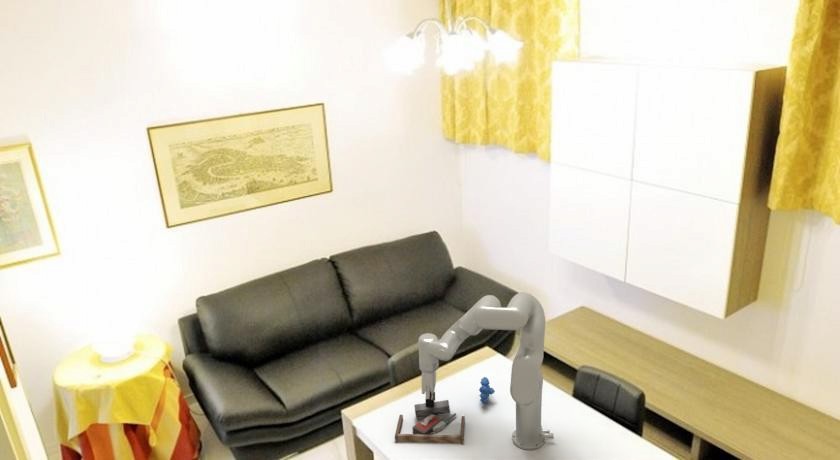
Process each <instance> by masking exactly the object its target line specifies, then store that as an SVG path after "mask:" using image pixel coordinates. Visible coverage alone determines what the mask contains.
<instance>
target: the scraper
mask: <svg viewBox="0 0 840 460" xmlns="http://www.w3.org/2000/svg"><path fill="white" fill-rule="evenodd" d="M430 392H431V391H430ZM430 396H431V394H430ZM433 398H434V396H433ZM414 412H415V413H414V414H415V418H416V419H419V418H422V419H423V418H425V417H426V416H427V415H429V414H433V415H436V416H442V415H449V414H451V408H450V402H449V399H446V400H445V399H444V400H440V401H434V407H433V408H428V407H426V402H424V403H418V404H414Z"/></svg>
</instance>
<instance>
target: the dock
mask: <svg viewBox="0 0 840 460" xmlns="http://www.w3.org/2000/svg"><path fill="white" fill-rule="evenodd" d="M403 422H404V415H403V414H399V417H398V421H397V425H396V428H395V429H396V430H395V433H394V442H395V443H411V444H412V443H415V444H447V445H450V444H451V445H453V444H454V445H464V442H465V441H464V438H465V427H466V418H465V415H461V421H460V430H459V435H456V434H453V435H452V434H430V435H426V434H413V433H401V432H402V429H403V428H402V427H403Z"/></svg>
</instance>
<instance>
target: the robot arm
mask: <svg viewBox="0 0 840 460" xmlns="http://www.w3.org/2000/svg"><path fill="white" fill-rule="evenodd" d="M482 330H493V331H496V330H497V331H498V330H500V331H517V330H520V338H519V346H518V348H517V351H516V353H515V356H514V359H513V361H512V364H511V373H510V383H509V384H510V387H509V388H510V389H509V393H510V396H511V398H512V399H513V401H514V402H515V430H514V431H513V432H512V434H511V441H512V443H513V444H514V445H515V446H516V447H518V448H520V449H523V450H527V451H533V450H538V449H540V448H542V447H543V446H544V445H545V443H546V439H552V440H553V439H554V437H555V436H554V435H555V434H554V432H553V433H552V432H551V430H550V429H543V426H542V406H543V405H542V403H543V402H542V399H543V397H542V396H543V384H544V377H543V373H542V371H541V368H542V364H543V360H544V348H545V340H546V339H545V338H546V337H545V335H546V314H545V311H544V308H543V306H542V304H541V302H540V301H539V300H538V299H537V297H536V296H534V295H532V294H530V293H528V292H525V291H524V292H519V293H516V294H515V295H514V296H512V297H511V299H510V301H509V302H508V304H507V306H506V307H502V304H501V301H500V299H498V297H496V296H495V295H492V294H491V295H490V294H487V295H484V296H482V297H481V298H480V299H479V300H478V301H477V302H476V303H475V304H473V306H472V307H470V309H468V310H467V312H465V313H464V314H463V315H462V316H461V317H460V318H459V319H458V320H457V321H455V322H454V323H453V324H452V325H451V326H450V327H449V328H448V329H447V330H446V331H445V333H443V335H442V336H441V338H440V339H438V337H437V336H436V335H435V334H433V333H429V332H427V333H422V334H420V336H419V337H418V341H417V343H418V344H417V345H418V361H419V362H418V364H419V370H420V371H421V394H422V395H425V403H426V407H428V408H433V407H434V402H436V391H435V390H436V385H437V371H438V370H439V364H440V363H439V360H440V361H444V362H447V361H450V360H451V359H453V357H454V355H455V354H456V352H457V350H458V349H459V347H460V346H461V345H462V344H463V343H464V342H465V341H466V340H467V338H469V337H470V336H477V335H478V334H479V333H480V332H481V331H482ZM430 391H431V392H430ZM430 394H431V396H430ZM433 396H434V398H433Z"/></svg>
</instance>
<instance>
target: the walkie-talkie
mask: <svg viewBox="0 0 840 460" xmlns="http://www.w3.org/2000/svg"><path fill="white" fill-rule="evenodd" d="M456 416H457V413H456V412H455V413H453V414H452V415H451V416H449V417H448V418H447V419H446V420H442V418H441V417H440V416H438V415H433V414H429V415H427V416H426V417H423V418H422V419H421V420H420V421H419V422H416V424H415V425H413V426H412V434H426V435H432V434H433V433H438V432H440V431H442V430H443V429H444V428H447V424H448V423H449V422H450V421H451V420H452V419H453V418H454V417H456Z"/></svg>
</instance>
